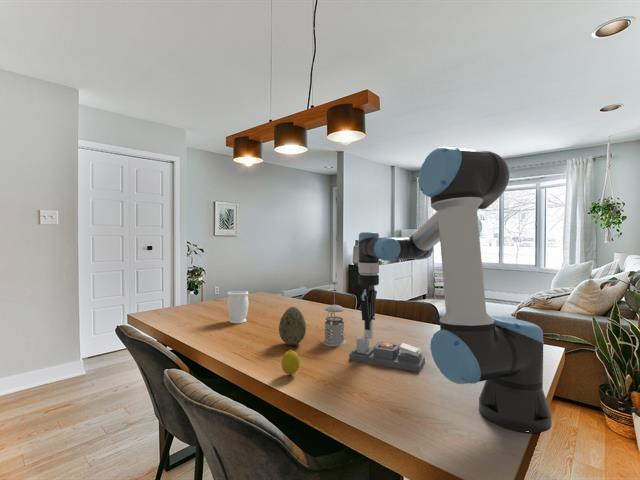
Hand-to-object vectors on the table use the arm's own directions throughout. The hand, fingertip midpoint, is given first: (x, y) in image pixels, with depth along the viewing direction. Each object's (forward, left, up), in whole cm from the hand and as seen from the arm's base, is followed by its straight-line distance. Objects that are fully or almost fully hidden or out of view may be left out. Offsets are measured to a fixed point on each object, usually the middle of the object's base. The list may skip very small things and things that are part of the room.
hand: (368, 337), depth 121 cm
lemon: (-30, +15, -6) cm, 34 cm away
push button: (-4, -8, -3) cm, 9 cm away
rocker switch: (-4, -16, -1) cm, 16 cm away
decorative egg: (-5, +30, -6) cm, 31 cm away
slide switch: (-6, 0, -3) cm, 7 cm away
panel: (-4, -8, -6) cm, 11 cm away
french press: (+6, +17, -6) cm, 19 cm away
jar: (+12, +73, -6) cm, 74 cm away
